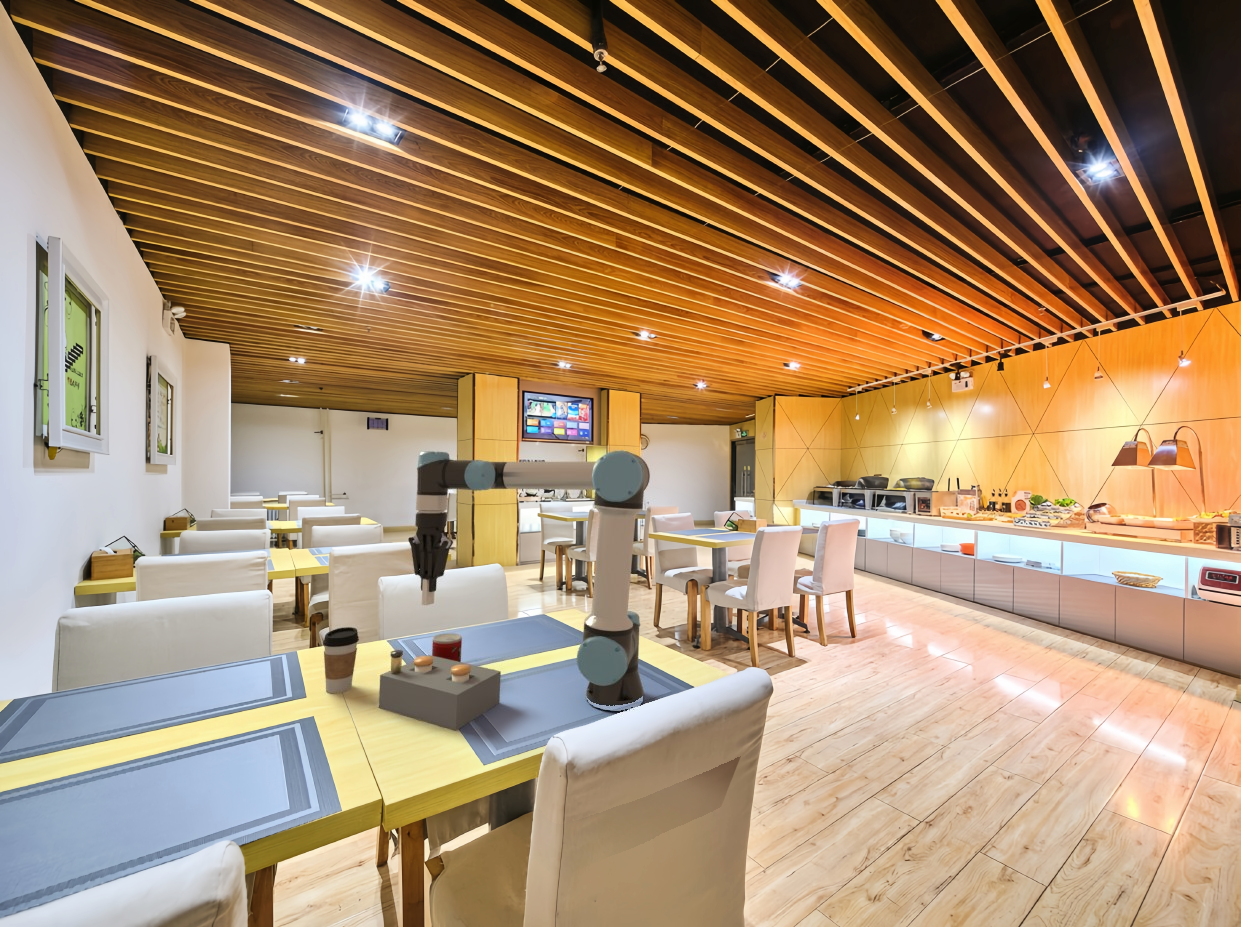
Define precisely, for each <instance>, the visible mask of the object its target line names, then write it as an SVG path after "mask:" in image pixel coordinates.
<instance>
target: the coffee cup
mask: <svg viewBox="0 0 1241 927" xmlns="http://www.w3.org/2000/svg"><path fill="white" fill-rule="evenodd" d="M359 640H360V639H359V634H358V629H357V628H356V627H352V626H350V627H349V626H345V627H338V628H335V629H332V630H330V631H328V632H327V633H326V634H325V635H324V639H323V642H322V645H323V647H324V651H323V661H324V675H325V691H326V693H329V694H341V693H344V692H348V691H349V690H351V689H352V687H353V686H352V684H353V677H354V672H355V666H356V664H355V663H356V659H357V658H356V657H357V651H358V648H357V645H358V642H359Z"/></svg>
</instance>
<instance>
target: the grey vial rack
mask: <svg viewBox="0 0 1241 927" xmlns="http://www.w3.org/2000/svg"><path fill="white" fill-rule="evenodd" d="M426 656H431V657H433V664H432V670H431V671H429V672H426V673H424V674H422V673H418V672H415V665H414V660H413V661H411V662H408V663H406V664H404V665H401V673H399V674H391V670H388V671H386V672H384V673H380V675H379V694H378V695H379V696H378V708H379V709H381V710H385V711H387V712H388V711H389V712H391V713H394V714H399V715H402V716H405V717H408V718H412V719H414V720H415V719H416V720H418V721H422V722H426V723H428V724H430V725H431V724H432V725H435V726H438V727H442V728H446V729H448V730H452V731H456V732H457V730H459V729H460V728H462V727H464V726H466V725H467V724H470V722H472V721H473V720H475V719H476V718H478V717H480V716H481V715H483V714H484V713H486V712H488V711H489V710H491V709H492V708H494V707H496V706H497V705H498V704H500V699H501V696H500V695H501V672H502V671H501V670H498V669H497V670H496V669H493V668H488V667H484V666H480V665H475V664H470V663H466V662H463V661H462V662H458V661H453V660H449V659H444V658H440V657H436V656H432V654H431V655H430V654H428V655H426ZM460 664H465V665H469V666H471V672H470V673H469V680H467V681H465V682H463V683H458V682H454V681H452V674H451V668H452V667H453V666H455V665H460Z"/></svg>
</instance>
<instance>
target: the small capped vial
mask: <svg viewBox="0 0 1241 927" xmlns="http://www.w3.org/2000/svg"><path fill="white" fill-rule="evenodd" d="M403 652H404V650H402V649H396V650H392V651H390V657H391V658H390V659H391V660H390V671H391V674H399V673H401V666H403V665H402V661H403V655H404V654H403Z"/></svg>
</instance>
